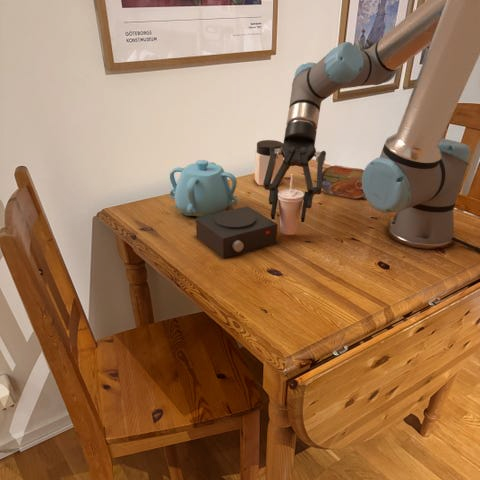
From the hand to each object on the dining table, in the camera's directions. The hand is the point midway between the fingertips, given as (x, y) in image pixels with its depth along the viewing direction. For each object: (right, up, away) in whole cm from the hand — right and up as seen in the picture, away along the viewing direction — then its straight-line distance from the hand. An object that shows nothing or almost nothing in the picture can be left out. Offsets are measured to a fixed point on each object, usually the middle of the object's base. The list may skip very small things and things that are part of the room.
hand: (287, 218), depth 104 cm
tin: (+20, +14, +30) cm, 39 cm away
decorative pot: (-21, +6, +19) cm, 29 cm away
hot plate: (-12, -4, +5) cm, 14 cm away
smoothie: (+1, -2, +6) cm, 6 cm away
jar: (-2, +20, +39) cm, 44 cm away
